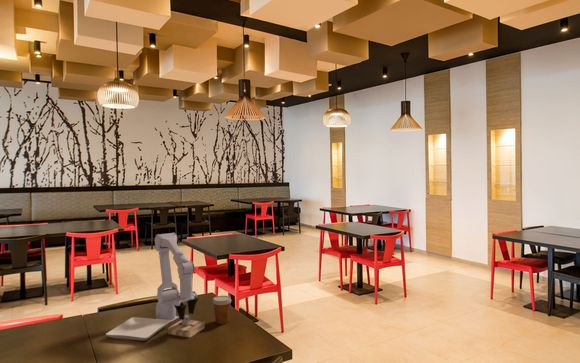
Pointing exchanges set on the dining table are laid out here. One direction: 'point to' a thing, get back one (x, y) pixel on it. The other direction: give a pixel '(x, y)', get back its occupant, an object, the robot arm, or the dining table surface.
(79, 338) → the dining table surface
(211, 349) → the dining table surface
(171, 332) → the jack base
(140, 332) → the salad plate
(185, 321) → the post
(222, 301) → the disposable coffee cup
